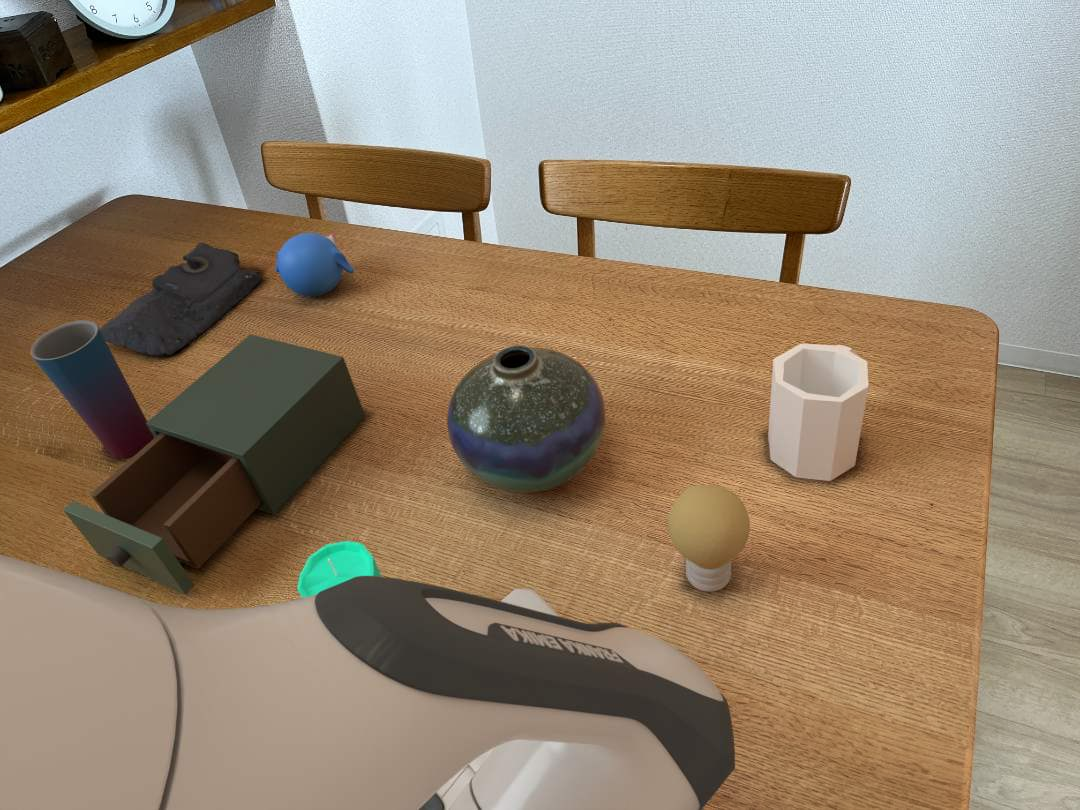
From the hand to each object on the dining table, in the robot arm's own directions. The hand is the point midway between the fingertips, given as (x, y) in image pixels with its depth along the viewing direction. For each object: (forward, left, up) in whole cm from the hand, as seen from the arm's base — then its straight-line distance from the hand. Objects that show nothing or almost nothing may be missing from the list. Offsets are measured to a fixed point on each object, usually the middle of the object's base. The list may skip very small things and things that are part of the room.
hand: (386, 641), depth 60 cm
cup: (-41, +29, -7) cm, 51 cm away
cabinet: (-23, +28, -7) cm, 36 cm away
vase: (+7, +26, -7) cm, 28 cm away
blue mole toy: (-28, +61, -7) cm, 67 cm away
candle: (-4, +4, -7) cm, 9 cm away
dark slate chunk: (-48, +56, -7) cm, 74 cm away
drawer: (-27, +16, -6) cm, 32 cm away
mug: (+35, +29, -7) cm, 46 cm away
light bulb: (+24, +12, -7) cm, 28 cm away
